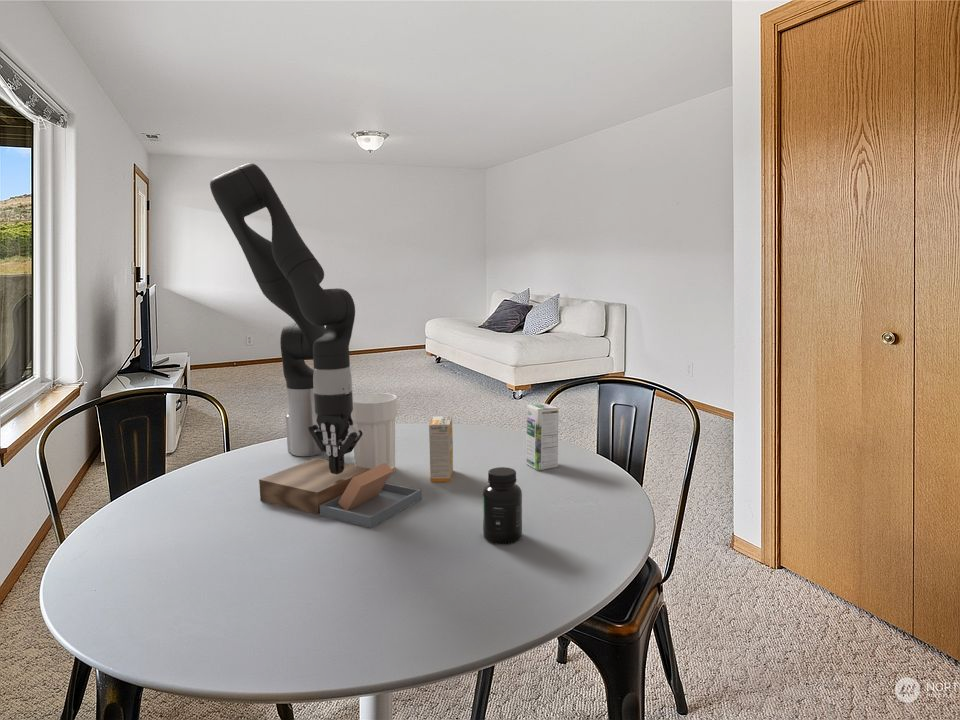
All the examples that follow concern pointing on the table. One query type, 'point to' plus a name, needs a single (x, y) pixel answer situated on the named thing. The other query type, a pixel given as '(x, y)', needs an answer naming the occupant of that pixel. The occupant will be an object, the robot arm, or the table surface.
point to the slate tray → (373, 506)
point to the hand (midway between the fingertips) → (337, 472)
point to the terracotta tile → (365, 486)
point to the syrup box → (542, 436)
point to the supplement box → (441, 448)
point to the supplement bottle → (502, 507)
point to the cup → (375, 429)
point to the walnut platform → (307, 485)
